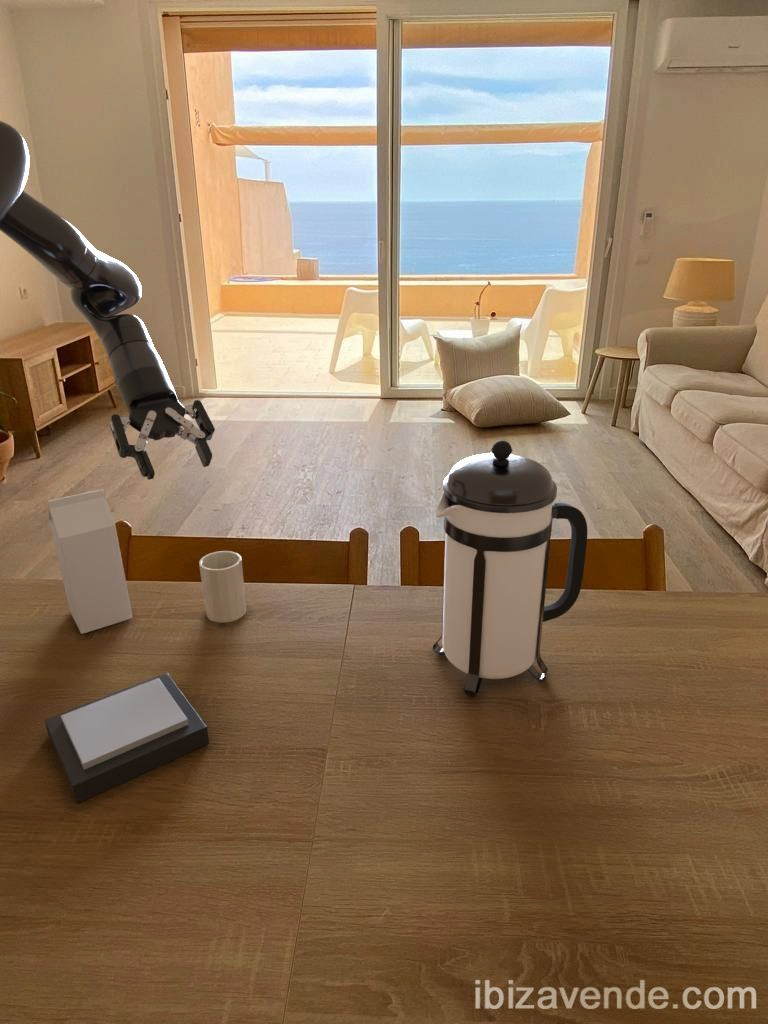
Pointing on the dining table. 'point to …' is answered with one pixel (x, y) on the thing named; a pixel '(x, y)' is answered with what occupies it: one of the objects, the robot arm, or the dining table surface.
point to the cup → (223, 586)
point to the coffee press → (501, 564)
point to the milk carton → (90, 560)
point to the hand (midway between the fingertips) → (180, 470)
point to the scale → (124, 735)
